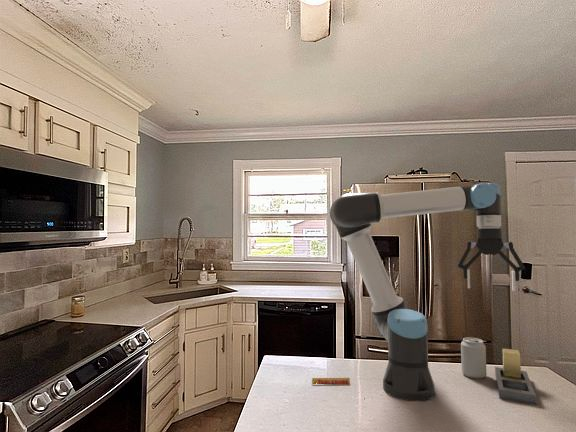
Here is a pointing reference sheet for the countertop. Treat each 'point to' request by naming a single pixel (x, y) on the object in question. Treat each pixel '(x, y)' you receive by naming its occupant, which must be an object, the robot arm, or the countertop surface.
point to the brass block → (511, 364)
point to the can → (473, 358)
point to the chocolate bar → (331, 381)
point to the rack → (515, 387)
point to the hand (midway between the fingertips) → (490, 289)
